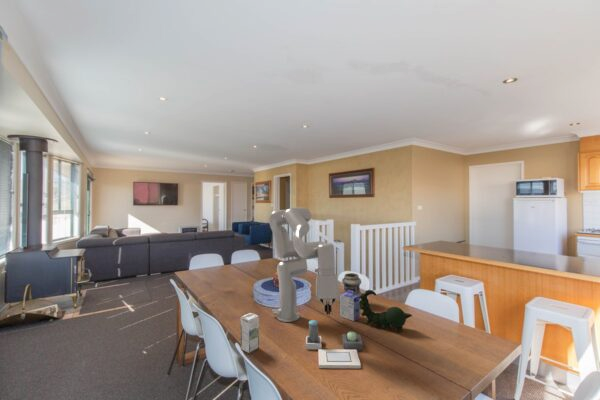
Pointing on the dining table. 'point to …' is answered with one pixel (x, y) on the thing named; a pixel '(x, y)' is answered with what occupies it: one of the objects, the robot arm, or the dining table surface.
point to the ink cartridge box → (349, 306)
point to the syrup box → (249, 332)
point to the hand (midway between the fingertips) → (328, 313)
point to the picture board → (338, 358)
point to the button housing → (352, 343)
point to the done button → (351, 336)
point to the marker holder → (313, 344)
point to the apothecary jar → (352, 284)
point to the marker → (313, 331)
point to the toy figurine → (383, 314)
